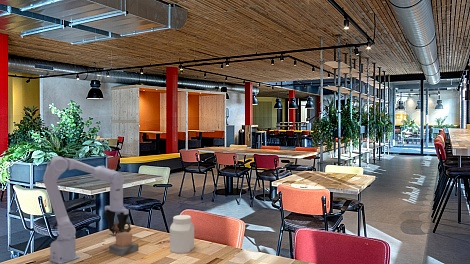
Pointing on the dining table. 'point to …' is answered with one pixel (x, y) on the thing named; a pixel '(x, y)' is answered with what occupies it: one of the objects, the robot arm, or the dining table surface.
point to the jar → (181, 234)
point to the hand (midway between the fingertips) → (116, 227)
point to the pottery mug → (116, 229)
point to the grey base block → (123, 249)
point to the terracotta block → (123, 239)
